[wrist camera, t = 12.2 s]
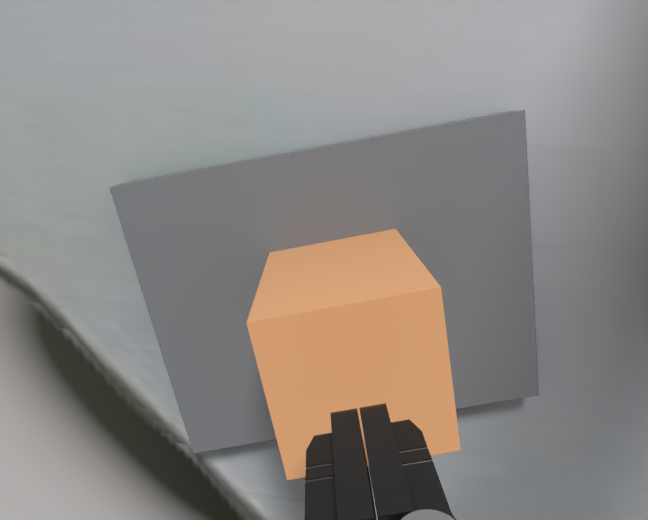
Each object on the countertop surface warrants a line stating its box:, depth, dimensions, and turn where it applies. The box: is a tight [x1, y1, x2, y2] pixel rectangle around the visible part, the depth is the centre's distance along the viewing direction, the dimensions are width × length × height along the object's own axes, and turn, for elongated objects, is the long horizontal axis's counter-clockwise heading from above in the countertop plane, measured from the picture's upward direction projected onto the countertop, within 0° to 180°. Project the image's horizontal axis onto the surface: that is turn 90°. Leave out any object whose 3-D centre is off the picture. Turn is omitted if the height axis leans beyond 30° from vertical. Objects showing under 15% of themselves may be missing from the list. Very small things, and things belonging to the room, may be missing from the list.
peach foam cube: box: [247, 229, 461, 480], centre depth 18 cm, size 6×6×8 cm
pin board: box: [110, 110, 539, 453], centre depth 19 cm, size 18×14×7 cm
